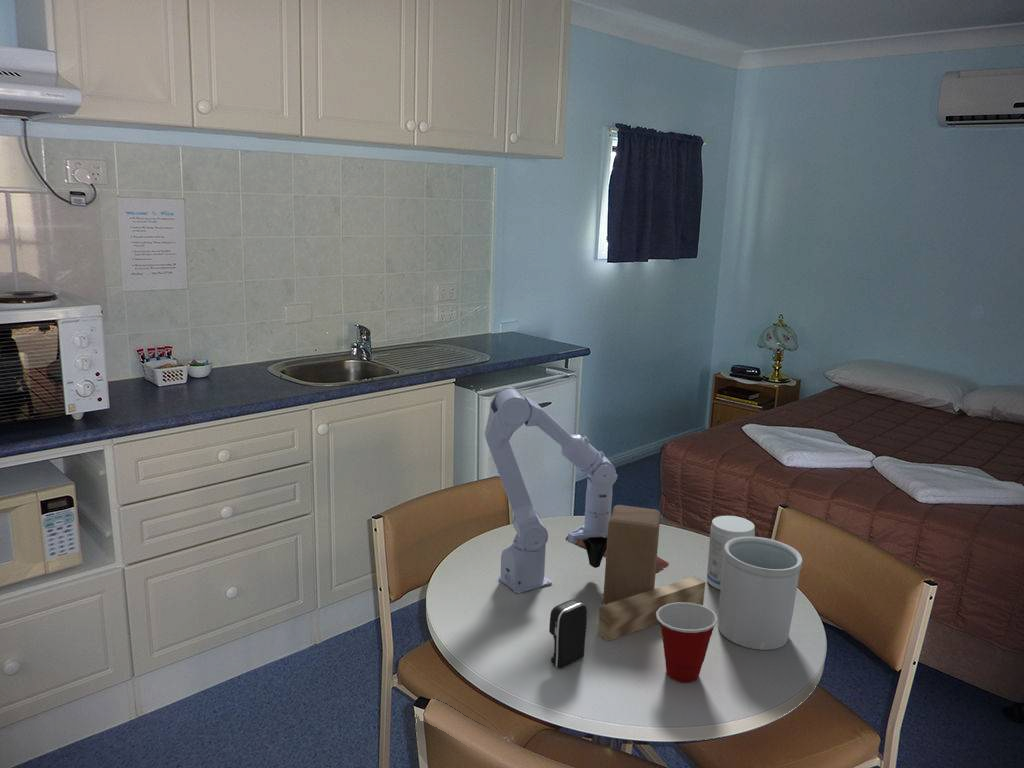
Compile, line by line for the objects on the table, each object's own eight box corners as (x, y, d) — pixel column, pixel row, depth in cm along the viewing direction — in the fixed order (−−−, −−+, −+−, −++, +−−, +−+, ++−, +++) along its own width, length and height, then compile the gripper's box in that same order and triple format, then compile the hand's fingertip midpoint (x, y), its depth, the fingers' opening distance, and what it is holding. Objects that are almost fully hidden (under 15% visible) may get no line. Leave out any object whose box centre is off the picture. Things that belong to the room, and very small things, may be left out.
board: (607, 641, 154) (609, 613, 152) (597, 633, 156) (599, 606, 155) (702, 607, 167) (705, 581, 166) (692, 601, 170) (695, 576, 168)
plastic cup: (669, 649, 151) (674, 592, 149) (721, 672, 145) (728, 613, 142) (640, 673, 143) (644, 614, 141) (693, 699, 137) (700, 637, 134)
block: (650, 616, 163) (657, 526, 159) (602, 608, 166) (607, 520, 161) (654, 593, 173) (661, 508, 168) (608, 586, 175) (614, 502, 170)
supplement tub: (750, 578, 181) (757, 519, 178) (748, 597, 172) (755, 535, 169) (707, 570, 184) (713, 512, 181) (703, 589, 176) (709, 527, 172)
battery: (571, 648, 151) (574, 594, 148) (585, 657, 148) (589, 602, 145) (544, 661, 146) (547, 605, 143) (558, 671, 143) (562, 614, 141)
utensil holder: (799, 626, 161) (809, 547, 157) (783, 661, 149) (794, 576, 145) (727, 606, 169) (735, 530, 164) (706, 637, 156) (714, 556, 152)
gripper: (583, 522, 168) (579, 580, 171) (634, 509, 176) (630, 565, 179) (563, 510, 174) (560, 567, 177) (614, 499, 181) (610, 553, 185)
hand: (594, 565), depth 178 cm, fingers closed
